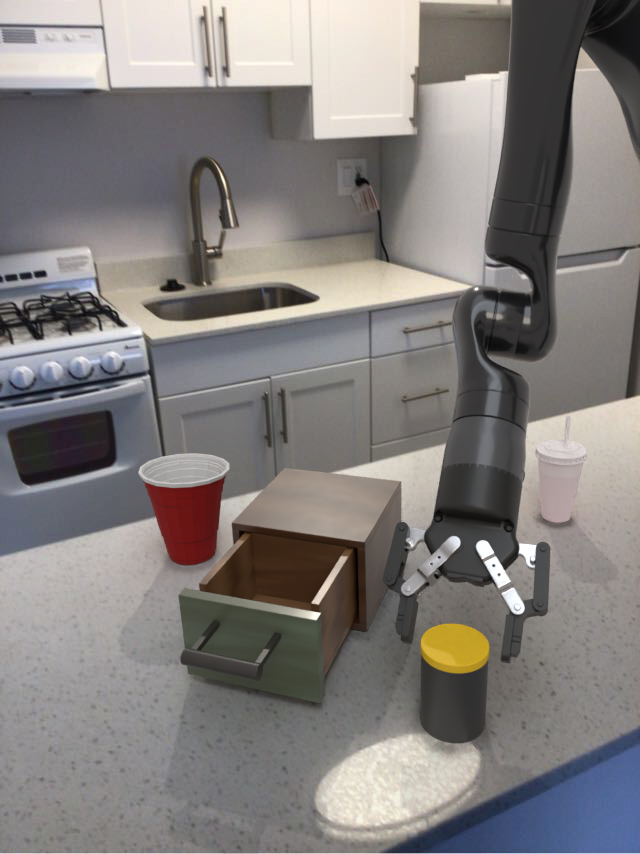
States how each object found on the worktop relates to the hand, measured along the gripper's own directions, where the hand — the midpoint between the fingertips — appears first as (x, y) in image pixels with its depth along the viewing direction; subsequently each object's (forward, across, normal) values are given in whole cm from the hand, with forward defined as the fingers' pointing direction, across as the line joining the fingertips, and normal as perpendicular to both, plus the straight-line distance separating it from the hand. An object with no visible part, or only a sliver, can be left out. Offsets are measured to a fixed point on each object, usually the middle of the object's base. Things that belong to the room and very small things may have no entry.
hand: (454, 651), depth 65 cm
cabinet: (-7, -18, +16) cm, 25 cm away
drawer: (+4, -18, +4) cm, 19 cm away
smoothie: (-24, +6, +33) cm, 41 cm away
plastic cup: (-8, -36, +18) cm, 41 cm away
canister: (+5, 0, +4) cm, 7 cm away
